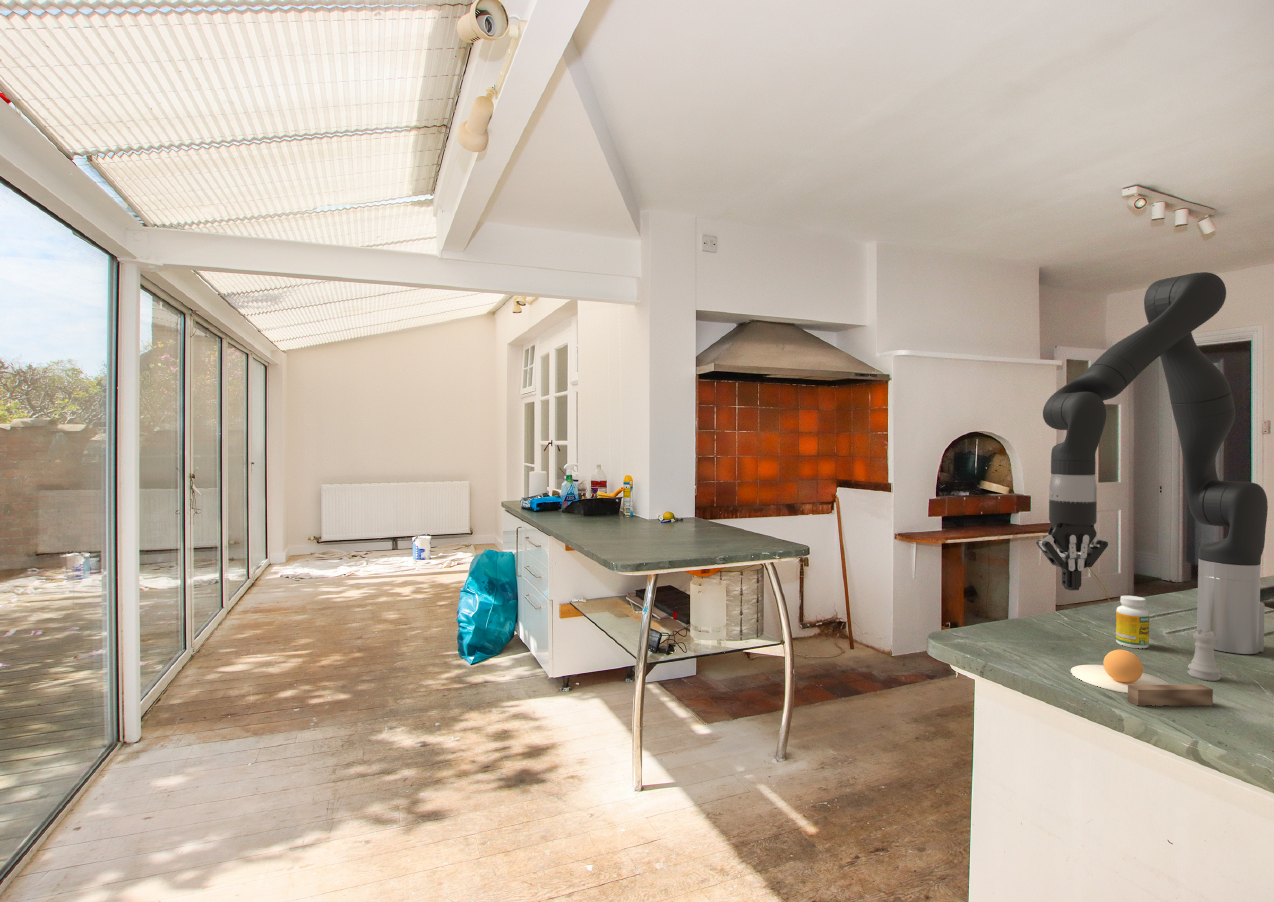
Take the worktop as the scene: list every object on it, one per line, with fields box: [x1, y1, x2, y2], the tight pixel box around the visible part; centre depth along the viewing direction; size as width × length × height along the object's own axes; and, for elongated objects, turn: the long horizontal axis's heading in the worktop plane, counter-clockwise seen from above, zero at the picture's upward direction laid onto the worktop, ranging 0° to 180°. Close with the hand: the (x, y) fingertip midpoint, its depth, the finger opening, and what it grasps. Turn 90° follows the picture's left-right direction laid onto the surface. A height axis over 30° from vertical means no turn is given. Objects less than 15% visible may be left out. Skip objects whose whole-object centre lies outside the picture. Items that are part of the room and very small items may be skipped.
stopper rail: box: [1127, 684, 1214, 707], centre depth 102 cm, size 12×2×2 cm, turn 93°
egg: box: [1102, 649, 1144, 683], centre depth 111 cm, size 5×5×5 cm
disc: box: [1070, 664, 1171, 694], centre depth 112 cm, size 14×14×1 cm
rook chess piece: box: [1187, 629, 1222, 682], centre depth 114 cm, size 4×4×8 cm
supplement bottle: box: [1115, 595, 1150, 650], centre depth 132 cm, size 5×5×10 cm
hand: (1071, 589), depth 124 cm, fingers closed
